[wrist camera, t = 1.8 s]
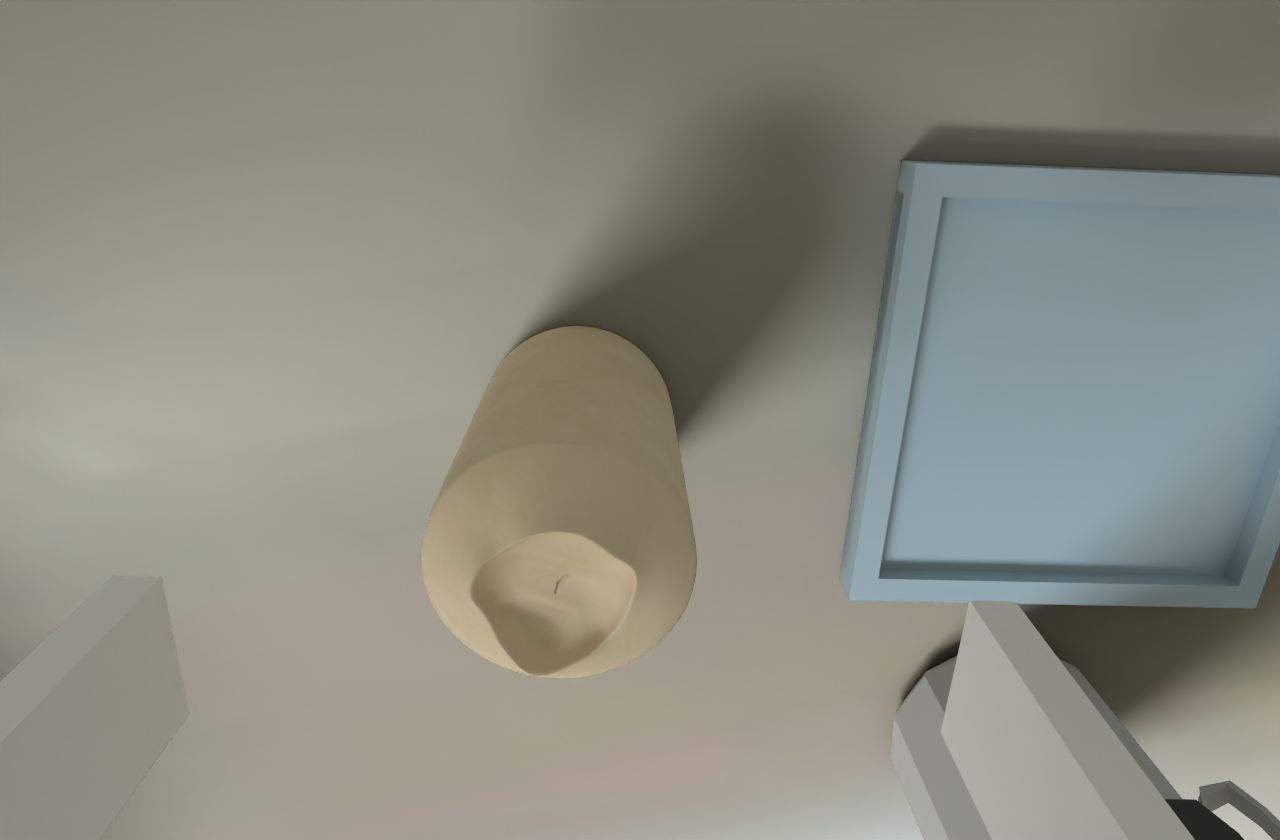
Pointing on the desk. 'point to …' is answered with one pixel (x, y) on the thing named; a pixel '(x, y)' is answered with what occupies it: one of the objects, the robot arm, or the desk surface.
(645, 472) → the candle
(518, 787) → the desk surface
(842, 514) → the desk surface
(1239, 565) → the tray
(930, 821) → the water bottle
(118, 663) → the robot arm
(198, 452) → the desk surface
